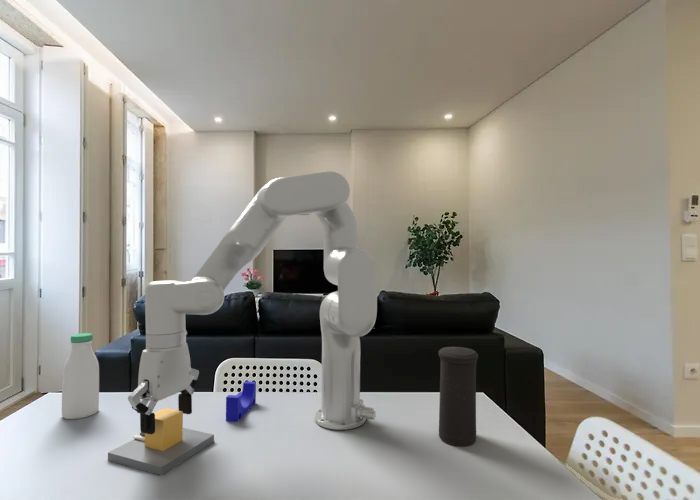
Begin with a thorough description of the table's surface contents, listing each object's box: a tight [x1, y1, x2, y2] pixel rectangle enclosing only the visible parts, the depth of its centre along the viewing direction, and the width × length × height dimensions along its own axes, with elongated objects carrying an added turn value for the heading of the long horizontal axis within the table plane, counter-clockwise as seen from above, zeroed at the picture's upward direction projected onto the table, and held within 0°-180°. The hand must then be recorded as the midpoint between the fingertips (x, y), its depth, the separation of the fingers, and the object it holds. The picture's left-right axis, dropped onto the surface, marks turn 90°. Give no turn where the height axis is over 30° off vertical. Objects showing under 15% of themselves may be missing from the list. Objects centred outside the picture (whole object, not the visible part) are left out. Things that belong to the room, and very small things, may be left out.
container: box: [438, 346, 479, 447], centre depth 88 cm, size 9×9×20 cm
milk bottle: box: [61, 332, 100, 420], centre depth 99 cm, size 8×8×20 cm
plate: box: [107, 427, 215, 476], centre depth 81 cm, size 14×14×6 cm
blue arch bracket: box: [225, 380, 257, 423], centre depth 101 cm, size 12×4×6 cm, turn 173°
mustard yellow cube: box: [145, 407, 184, 451], centre depth 81 cm, size 5×5×6 cm
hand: (167, 422), depth 81 cm, fingers open, 9 cm apart
